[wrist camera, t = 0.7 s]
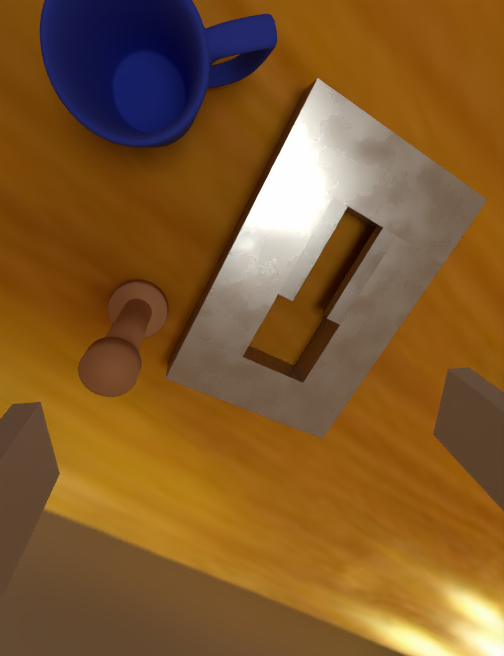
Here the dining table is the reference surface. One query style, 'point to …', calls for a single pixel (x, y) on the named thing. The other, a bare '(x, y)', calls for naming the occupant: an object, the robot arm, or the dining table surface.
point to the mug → (144, 63)
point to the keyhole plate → (302, 252)
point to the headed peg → (123, 338)
